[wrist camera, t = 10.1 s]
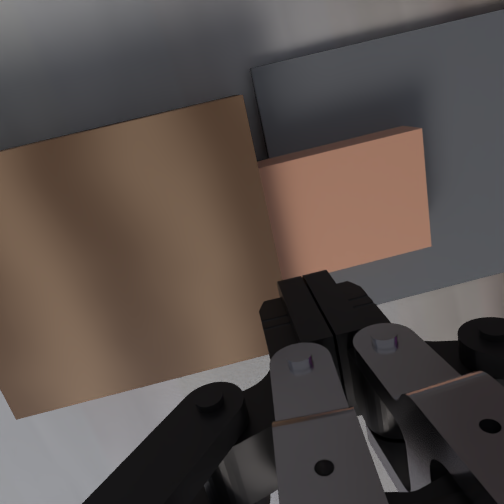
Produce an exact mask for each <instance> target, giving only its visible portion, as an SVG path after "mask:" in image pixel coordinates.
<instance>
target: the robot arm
mask: <svg viewBox="0 0 504 504" xmlns="http://www.w3.org/2000/svg"><path fill="white" fill-rule="evenodd" d="M277 286H278V291H279V296H280V298H276V299H271V300H267V301H264V302H263V304H262V306H261V308H260V310H259V314H260V318H261V323H262V327H263V331H264V335H265V339H266V344H267V348H268V352H269V356H270V370H269V372H268V374H267V375H266V376H265V377H264V378H263V379H262V380H261V381H260V382H259V383H257V384H256V385H254V386H252V387H251V388H249V389H247V390H244V391H242V390H241V389H240V388H239V387H238V386H236V385H235V384H232V383H228V382H214V383H210V384H206V385H204V386H201V387H199V388H197V389H195V390H194V391H192V392H191V393H190V394H189V395H187V396H186V397H185V398H184V399H183V400H182V401H181V402H180V404H179V405H178V406H177V407H176V408H175V409H174V410H173V411H172V412H171V413H170V414H169V415H168V416H167V417H166V418H165V419H164V420H163V421H162V422H161V423H160V424H159V425H158V426H157V427H156V428H155V429H154V430H153V431H152V432H151V433H150V434H149V435H148V436H147V437H146V438H145V440H144V441H143V442H142V443H141V444H140V445H139V446H138V447H137V448H136V449H135V450H134V451H133V452H132V453H131V454H130V455H129V456H128V457H127V458H126V459H125V460H124V461H123V462H122V463H121V464H120V465H119V466H118V467H117V468H116V469H115V470H114V471H113V472H112V473H111V474H110V476H109V477H108V478H107V479H106V480H105V481H104V482H103V483H102V484H101V485H100V486H99V487H98V488H97V489H96V490H95V491H94V492H93V493H92V494H91V495H90V496H89V497H88V498H87V499H86V500H85V501H84V502H83V503H82V504H270V494H271V493H273V492H274V491H276V490H278V495H279V504H504V318H496V317H485V318H478V319H474V320H470V321H468V322H466V323H464V324H463V325H462V326H461V327H460V328H459V330H458V341H423V340H422V339H421V338H420V337H419V336H418V335H417V334H416V333H415V332H414V331H412V330H411V329H410V328H408V327H406V326H403V325H400V324H394V323H391V322H390V321H389V320H388V319H387V318H386V316H385V315H384V314H383V313H382V311H381V310H380V309H379V308H378V307H377V305H376V304H375V303H374V302H373V301H372V299H371V298H370V297H368V295H367V293H366V292H365V291H364V290H363V289H362V287H361V286H359V285H356V284H354V283H352V282H349V281H345V282H341V283H337V284H336V282H335V281H334V279H333V278H332V277H331V275H330V274H329V272H328V271H327V270H322V271H318V272H314V273H310V274H306V275H302V277H301V276H298V277H294V278H289V279H285V280H281V281H277ZM359 415H362V416H363V418H364V420H365V422H366V429H367V435H368V440H369V442H370V444H371V446H372V448H373V449H374V451H375V453H376V454H377V456H378V458H379V459H380V461H381V463H382V465H383V466H384V468H385V470H386V471H387V473H388V475H389V476H390V478H391V480H392V482H393V483H394V485H395V487H396V488H397V490H398V492H384V490H383V487H382V484H381V481H380V479H379V476H378V473H377V470H376V467H375V465H374V462H373V459H372V456H371V454H370V451H369V448H368V445H367V442H366V440H365V437H364V434H363V431H362V429H361V426H360V423H359V420H358V417H357V416H359Z"/></svg>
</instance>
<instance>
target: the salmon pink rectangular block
mask: <svg viewBox="0 0 504 504" xmlns="http://www.w3.org/2000/svg"><path fill="white" fill-rule="evenodd" d="M257 164H258V169H259V174H260V178H261V183H262V188H263V192H264V197H265V202H266V206H267V211H268V216H269V220H270V225H271V230H272V234H273V239H274V244H275V248H276V253H277V258H278V262H279V267H280V272H281V277H282V280H285V279H289V278H294V277H298V276H301V277H302V275H306V274H310V273H314V272H318V271H322V270H327V271H328V272H329V273H330V272H334V271H337V270H341V269H345V268H349V267H353V266H357V265H361V264H365V263H369V262H373V261H376V260H380V259H384V258H388V257H392V256H396V255H400V254H404V253H408V252H412V251H415V250H419V249H423V248H427V247H431V233H430V221H429V208H428V196H427V183H426V171H425V158H424V145H423V133H422V128H417V127H409V126H400V127H396V128H391V129H387V130H383V131H379V132H375V133H371V134H367V135H363V136H359V137H355V138H351V139H347V140H343V141H339V142H334V143H330V144H326V145H322V146H318V147H314V148H310V149H306V150H302V151H298V152H294V153H290V154H286V155H282V156H277V157H273V158H269V159H265V160H261V161H257Z"/></svg>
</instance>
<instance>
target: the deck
mask: <svg viewBox="0 0 504 504" xmlns="http://www.w3.org/2000/svg"><path fill="white" fill-rule="evenodd" d="M281 280H282V277H281V272H280V267H279V262H278V258H277V253H276V248H275V244H274V239H273V234H272V230H271V225H270V220H269V216H268V211H267V206H266V202H265V197H264V192H263V188H262V183H261V178H260V174H259V169H258V164H257V160H256V155H255V150H254V145H253V141H252V136H251V131H250V127H249V122H248V117H247V113H246V108H245V103H244V99H243V95H234V96H230V97H226V98H221V99H217V100H213V101H209V102H204V103H200V104H196V105H192V106H187V107H183V108H179V109H175V110H170V111H166V112H162V113H158V114H153V115H149V116H145V117H141V118H136V119H132V120H128V121H124V122H119V123H115V124H111V125H107V126H102V127H98V128H94V129H90V130H85V131H81V132H77V133H73V134H68V135H64V136H60V137H56V138H52V139H47V140H43V141H39V142H35V143H30V144H26V145H22V146H18V147H13V148H9V149H5V150H1V151H0V389H1V391H2V393H3V395H4V397H5V399H6V401H7V403H8V405H9V407H10V409H11V411H12V412H13V414H14V416H15V418H16V419H20V418H24V417H28V416H32V415H36V414H40V413H44V412H47V411H51V410H55V409H59V408H63V407H67V406H71V405H74V404H78V403H82V402H86V401H90V400H94V399H98V398H101V397H105V396H109V395H113V394H117V393H121V392H125V391H128V390H132V389H136V388H140V387H144V386H148V385H152V384H156V383H159V382H163V381H167V380H171V379H175V378H179V377H183V376H186V375H190V374H194V373H198V372H202V371H206V370H210V369H213V368H217V367H221V366H225V365H229V364H233V363H237V362H240V361H244V360H248V359H252V358H256V357H260V356H264V355H268V354H269V352H268V348H267V344H266V339H265V335H264V331H263V327H262V323H261V318H260V314H259V310H260V308H261V306H262V304H263V302H264V301H267V300H271V299H276V298H280V296H279V291H278V286H277V281H281Z"/></svg>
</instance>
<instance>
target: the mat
mask: <svg viewBox="0 0 504 504" xmlns="http://www.w3.org/2000/svg"><path fill="white" fill-rule="evenodd" d="M250 71H251V76H252V80H253V85H254V90H255V95H256V100H257V105H258V110H259V115H260V120H261V125H262V129H263V134H264V139H265V144H266V149H267V154H268V159H269V158H273V157H277V156H282V155H286V154H290V153H294V152H298V151H302V150H306V149H310V148H314V147H318V146H322V145H326V144H330V143H334V142H339V141H343V140H347V139H351V138H355V137H359V136H363V135H367V134H371V133H375V132H379V131H383V130H387V129H391V128H396V127H400V126H409V127H417V128H422V133H423V145H424V158H425V171H426V183H427V196H428V208H429V221H430V233H431V247H427V248H423V249H419V250H415V251H412V252H408V253H404V254H400V255H396V256H392V257H388V258H384V259H380V260H376V261H373V262H369V263H365V264H361V265H357V266H353V267H349V268H345V269H341V270H337V271H334V272H330V273H329V274H330V275H331V277H332V278H333V279H334V281H335V282H336V284H337V283H341V282H345V281H349V282H352V283H354V284H356V285H359V286H361V287H362V289H363V290H364V291H365V292H366V293H367V295H368V297H370V298H371V299H372V301H373V302H374V303H375V304H376V305H378V304H382V303H386V302H390V301H394V300H398V299H401V298H405V297H409V296H413V295H417V294H421V293H425V292H429V291H433V290H436V289H440V288H444V287H448V286H452V285H456V284H460V283H464V282H468V281H471V280H475V279H479V278H483V277H487V276H491V275H495V274H499V273H503V272H504V9H502V10H498V11H494V12H490V13H485V14H481V15H477V16H473V17H468V18H464V19H460V20H455V21H451V22H447V23H443V24H438V25H434V26H430V27H425V28H421V29H417V30H413V31H408V32H404V33H400V34H395V35H391V36H387V37H383V38H378V39H374V40H370V41H366V42H361V43H357V44H353V45H348V46H344V47H340V48H336V49H331V50H327V51H323V52H318V53H314V54H310V55H306V56H301V57H297V58H293V59H288V60H284V61H280V62H276V63H271V64H267V65H263V66H258V67H254V68H251V69H250Z"/></svg>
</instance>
